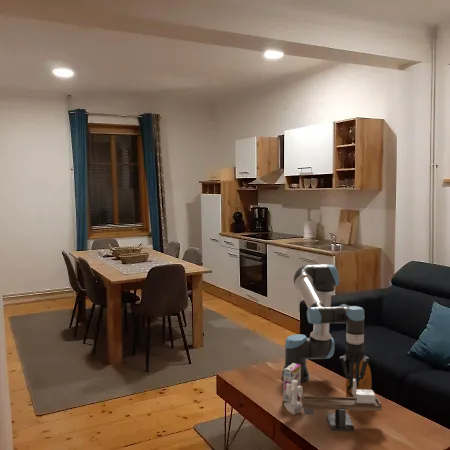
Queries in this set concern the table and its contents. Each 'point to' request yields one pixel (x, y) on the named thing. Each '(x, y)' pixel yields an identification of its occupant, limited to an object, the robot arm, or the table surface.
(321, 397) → the beam
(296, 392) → the figurine
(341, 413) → the pivot stand
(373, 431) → the table surface
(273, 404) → the table surface
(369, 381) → the coffee package
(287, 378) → the candy bar box
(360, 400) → the block
